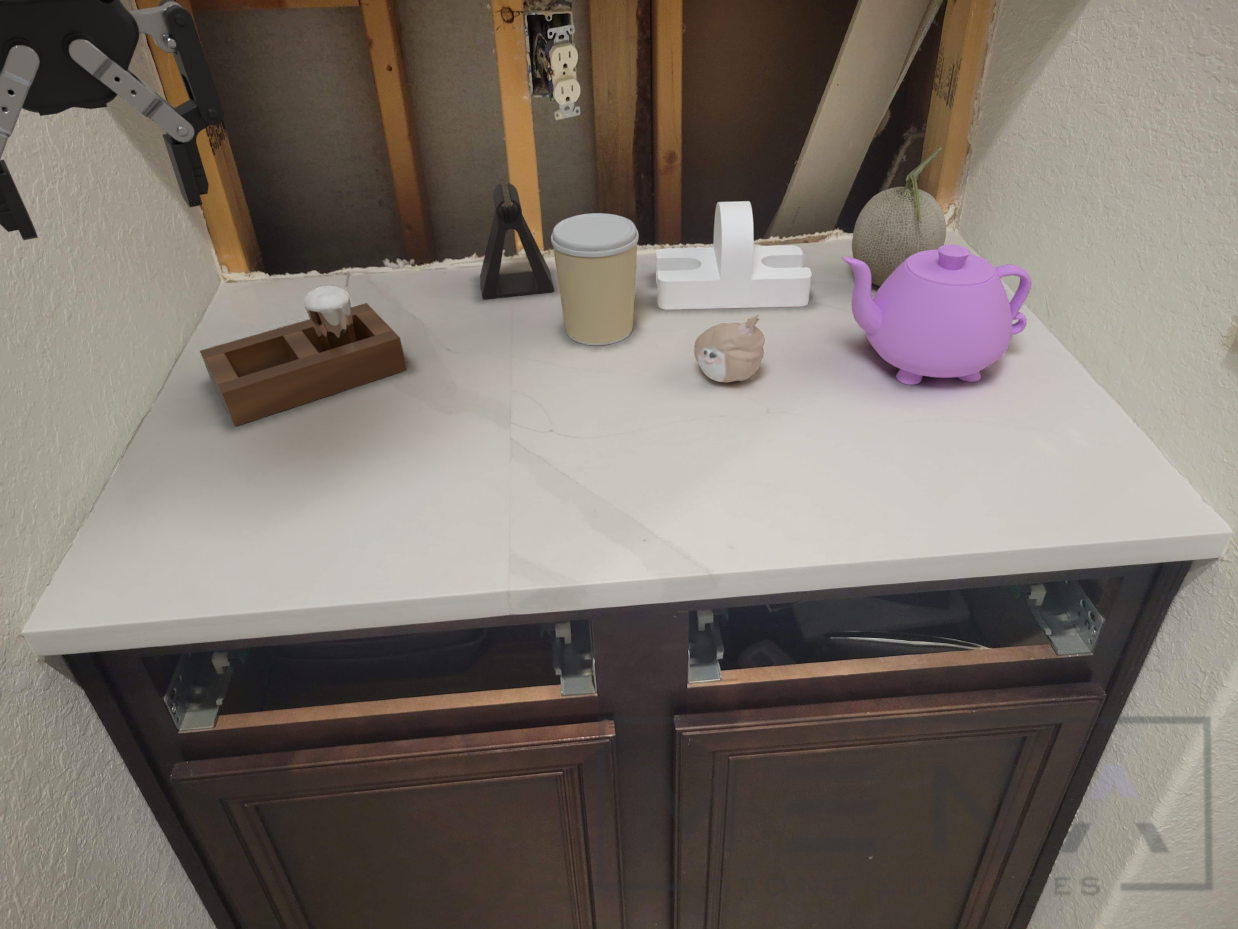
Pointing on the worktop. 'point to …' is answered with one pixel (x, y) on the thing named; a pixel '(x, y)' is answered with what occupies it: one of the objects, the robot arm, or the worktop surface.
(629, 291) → the coffee cup
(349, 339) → the milkshake
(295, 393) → the tray
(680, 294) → the white slotted holder
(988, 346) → the teapot
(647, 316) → the worktop surface
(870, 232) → the fruit
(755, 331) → the beige round figure
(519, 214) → the phone stand
